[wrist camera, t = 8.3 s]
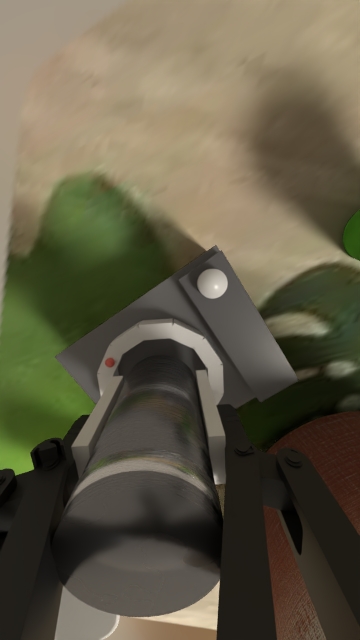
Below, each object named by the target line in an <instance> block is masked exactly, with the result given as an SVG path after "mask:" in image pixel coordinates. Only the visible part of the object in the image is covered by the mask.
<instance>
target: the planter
mask: <svg viewBox="0 0 360 640" xmlns="http://www.w3.org/2000/svg"><path fill="white" fill-rule="evenodd" d="M285 447H289V448H294V449H297V450H299V451H301V452H302V453H304V454H305V455H306V456H307V457H308V458H309V460H310V461H311V463H312V464H313V466H314V467H315V469H316V470H317V472H318V473H319V475H320V476H321V478H322V479H323V481H324V482H325V484H326V485H327V487H328V488H329V490H330V491H331V493H332V494H333V496H334V498H335V499H336V501H337V502H338V504H339V505H340V507H341V508H342V510H343V511H344V513H345V514H346V516H347V517H348V519H349V520H350V522H351V523H352V525H353V526H354V528H355V529H356V531H357V532H358V534H359V535H360V411H349V412H341V413H336V414H331V415H328V416H324V417H321V418H318V419H315V420H312V421H310V422H307V423H305V424H303V425H301V426H299V427H297V428H296V429H294V430H292V431H291V432H289V433H287V434H286V435H284V436H283V437H282V438H280V439H279V440H278V441H277V442H275V443H274V444H273V445H272V446H271V447H270V448H269V449H268V450H267V451H266V453H270V454H275V455H277V451H278V450H280V449H281V448H285ZM263 510H264V519H265V529H266V538H267V547H268V557H269V566H270V576H271V585H272V595H273V604H274V614H275V623H276V633H277V640H326V637H325V635H324V632H323V629H322V627H321V624H320V622H319V619H318V616H317V614H316V611H315V609H314V606H313V603H312V601H311V598H310V596H309V593H308V590H307V588H306V585H305V583H304V580H303V577H302V575H301V572H300V570H299V567H298V564H297V562H296V559H295V557H294V554H293V551H292V549H291V546H290V544H289V541H288V539H287V536H286V533H285V531H284V528H283V526H282V523H281V520H280V518H279V515H278V513H277V510H276V509H275V508H271V507H267V506H264V505H263Z"/></svg>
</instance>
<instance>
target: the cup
mask: <svg viewBox="0 0 360 640" xmlns="http://www.w3.org/2000/svg"><path fill="white" fill-rule="evenodd" d="M343 244H344V247H345V249H346V251H347V253H348V254H349V255H351V256H352V257H353V258H355V259H357V260H359V261H360V210H358V211H357V212H356V213H355V214H354V215H353V217H352V218H351V219H350V220H349V221H348V223H347V225H346V227H345V229H344V234H343Z"/></svg>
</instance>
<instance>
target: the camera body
mask: <svg viewBox="0 0 360 640" xmlns="http://www.w3.org/2000/svg"><path fill="white" fill-rule="evenodd" d="M154 355H168V356H172V357H175V358H177V359H179V360H181V361H182V362H184V363H185V364H186V365H187V366H188V367H189V368H190V369H191V370H192V372H193V374H194V376H195V379H196V370H206V373H207V376H208V379H209V383H210V386H211V389H212V393H213V396H214V399H215V403H216V405H221V404H230V405H231V406H233V407H234V408H235V409H236V408H238V407H240V406H241V405H243V404H245V403H247V402H248V401H250V400H252V399H253V398H255V397H257V399H258V400H259V402H260V403H261V402H262V401H264V400H266V399H267V398H269V397H271V396H273V395H274V394H276V393H278V392H280V391H281V390H283V389H285V388H286V387H288V386H290V385H292V384H293V383H295V382H297V381H299V379H298V377H297V376H296V374H295V372H294V371H293V369H292V367H291V366H290V364H289V362H288V361H287V359H286V357H285V356H284V354H283V352H282V351H281V349H280V347H279V346H278V344H277V342H276V341H275V339H274V337H273V336H272V334H271V332H270V331H269V329H268V327H267V326H266V324H265V322H264V321H263V319H262V317H261V316H260V314H259V312H258V311H257V309H256V307H255V306H254V304H253V302H252V301H251V299H250V297H249V295H248V294H247V292H246V290H245V289H244V287H243V285H242V284H241V282H240V280H239V279H238V277H237V275H236V274H235V272H234V270H233V269H232V267H231V265H230V264H229V262H228V260H227V259H226V257H225V255H224V254H223V252H222V250H221V251H219V249H218V247H217V246H216V245H215V246H214V247H212V248H211V249H209V250H208V251H206V252H205V253H203V254H202V255H200V256H199V257H197V258H196V259H195V260H193V261H192V262H190V263H189V264H187V265H186V266H184V267H183V268H182V269H180V270H179V271H177V272H176V273H174V274H173V275H171V276H170V277H169V278H167V279H166V280H164V281H163V282H161V283H160V284H158V285H157V286H156V287H154V288H153V289H151V290H150V291H148V292H147V293H145V294H144V295H143V296H141V297H140V298H138V299H137V300H135V301H134V302H132V303H131V304H130V305H128V306H127V307H125V308H124V309H122V310H121V311H119V312H118V313H117V314H115V315H114V316H112V317H111V318H109V319H108V320H107V321H105V322H104V323H102V324H101V325H99V326H98V327H96V328H95V329H94V330H92V331H91V332H89V333H88V334H86V335H85V336H83V337H82V338H81V339H79V340H78V341H76V342H75V343H73V344H72V345H71V346H69V347H68V348H66V349H65V350H64V351H62V352H61V353H59V354H58V355H56V356H55V358H56V359H57V360H58V361H59V362H60V364H61V365H62V366H63V367H64V368H65V369H66V370H67V372H68V373H69V374H70V375H71V376H72V377H73V378H74V380H75V381H76V382H77V383H78V384H79V385H80V386H81V388H82V389H83V390H84V391H85V392H86V393H87V394H88V396H89V397H90V398H91V399H92V400H93V401H94V402H95V404H97V403H98V401H99V399H100V398H101V396H102V394H103V393H104V391H105V389H106V388H107V386H108V384H109V383H110V381H111V379H112V377H113V376H123V378H124V383H125V380H126V378H127V376H128V374H129V372H130V370H131V369H132V368H133V367H134V366H135V365H136V364H137V363H138V362H139V361H141V360H143V359H145V358H147V357H150V356H154Z"/></svg>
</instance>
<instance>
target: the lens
mask: <svg viewBox="0 0 360 640" xmlns="http://www.w3.org/2000/svg"><path fill="white" fill-rule="evenodd" d="M222 536H223V516H222V511H221V506H220V501H219V496H218V493H217V490H216V486H215V481H214V475H213V470H212V465H211V459H210V455H209V449H208V444H207V438H206V433H205V427H204V422H203V416H202V411H201V405H200V400H199V394H198V389H197V383H196V379H195V376H194V374H193V372H192V370H191V369H190V368H189V367H188V366H187V365H186V364H185V363H184V362H182V361H181V360H179V359H177V358H175V357H172V356H168V355H154V356H150V357H147V358H145V359H143V360H141V361H139V362H138V363H137V364H136V365H135V366H134V367H133V368H132V369H131V370H130V372H129V374H128V376H127V378H126V380H125V383H124V385H123V387H122V389H121V391H120V393H119V396H118V398H117V400H116V402H115V404H114V406H113V409H112V411H111V413H110V415H109V417H108V419H107V422H106V424H105V426H104V428H103V430H102V432H101V435H100V437H99V439H98V441H97V443H96V445H95V448H94V450H93V452H92V454H91V456H90V458H89V461H88V463H87V465H86V467H85V469H84V472H83V474H82V476H81V477H80V479H79V480H78V482H77V484H76V486H75V488H74V490H73V492H72V494H71V496H70V498H69V500H68V503H67V505H66V507H65V509H64V512H63V514H62V517H61V521H60V524H59V526H58V528H57V530H56V532H55V535H54V538H53V540H52V546H51V552H52V555H53V559H54V562H55V566H56V569H57V573H58V576H59V580H60V582H61V583H62V584H63V586H64V587H65V588H66V589H67V590H68V591H69V592H70V593H71V594H72V595H73V596H75V597H76V598H77V599H79V600H80V601H82V602H84V603H85V604H87V605H89V606H91V607H93V608H96V609H98V610H101V611H104V612H107V613H111V614H115V615H121V616H128V617H151V616H159V615H164V614H169V613H172V612H175V611H179V610H181V609H184V608H186V607H188V606H190V605H192V604H194V603H196V602H197V601H199V600H200V599H202V598H203V597H204V596H206V595H207V594H208V593H209V592H210V591H211V590H212V589H213V588H214V587H215V585H216V584H217V583H218V581H219V580H220V570H221V553H222Z"/></svg>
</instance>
